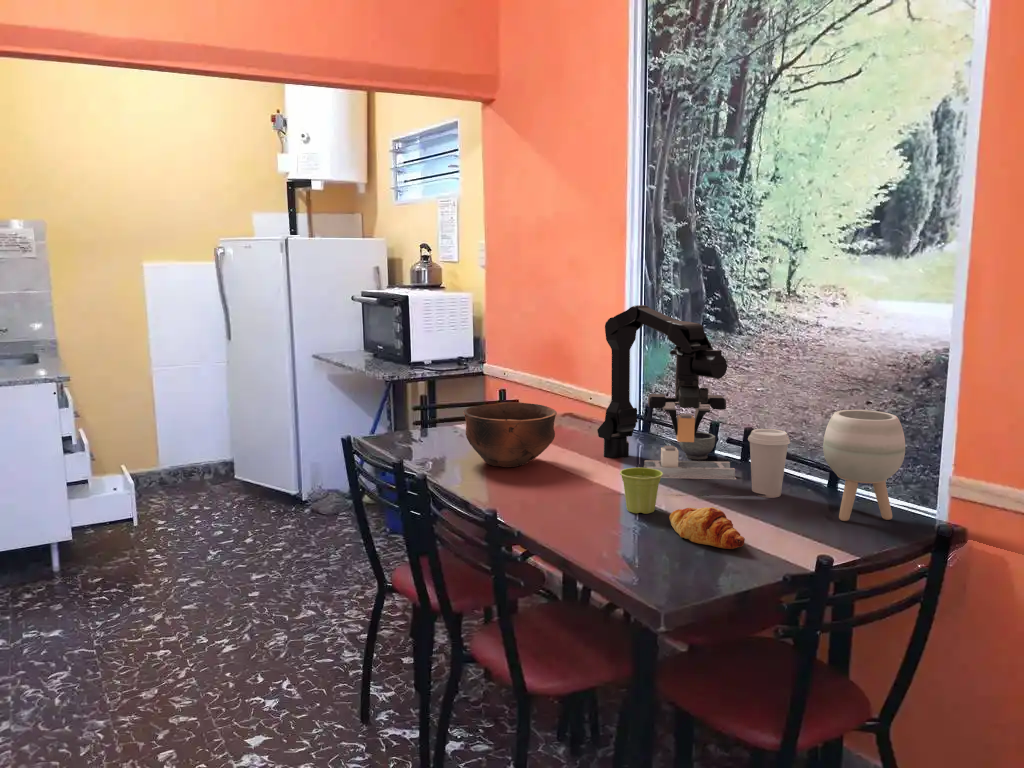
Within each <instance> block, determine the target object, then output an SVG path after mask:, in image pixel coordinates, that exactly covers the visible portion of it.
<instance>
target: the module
mask: <svg viewBox="0 0 1024 768" xmlns="http://www.w3.org/2000/svg"><path fill="white" fill-rule="evenodd" d="M676 416H677V427H678V432H677V435H676V434H675V436H676V437H675V439H676V441H677V443H679V442H694V430H695V415H692V414H691V413H688V412H687V413H685V412H684V413H683V412H681V413H680V415H679V414H676Z"/></svg>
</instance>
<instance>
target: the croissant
mask: <svg viewBox="0 0 1024 768" xmlns="http://www.w3.org/2000/svg"><path fill="white" fill-rule="evenodd" d="M668 518H669V521H670V525H671V526H672V528H673V529H674V531H675V533H677V534H678V535H679V537H680V538H684V539H685V540H689V541H690V542H692V543H695V544H698V545H705V546H712V547H716V548H718V549H719V548H720V549H725V550H726V549H727V550H734V549H737V548H741V547H743V546H744V545H745V541H746V539H745V537H744V536H742V535H741V533H740V532H739V531H738V530H737V529H736V528H734V524H733V522H732V520H731V519H729V518H727V515H726V513H724V511H722V510H721V509H719V508H715V507H713V506H712V507H701V508H696V507H695V508H694V507H687V508H683V509H680V508H679V509H675V510H674V511H672V512H671V513H670V514H669V517H668Z"/></svg>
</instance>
